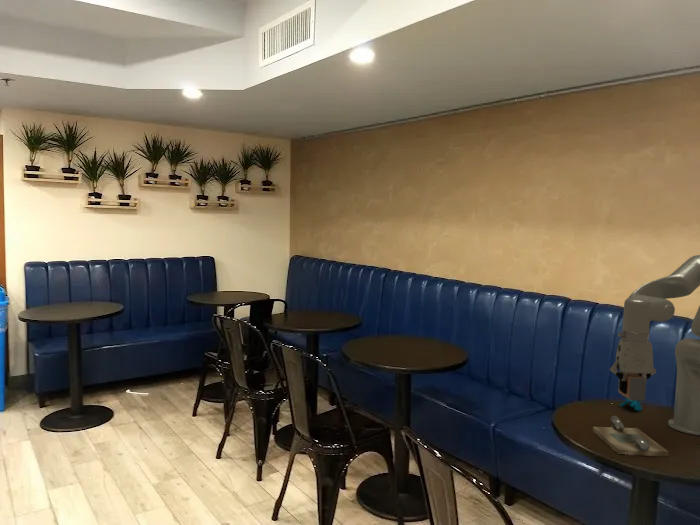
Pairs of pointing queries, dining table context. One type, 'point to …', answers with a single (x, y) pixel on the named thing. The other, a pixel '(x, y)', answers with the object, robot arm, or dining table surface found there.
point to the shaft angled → (617, 423)
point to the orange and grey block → (635, 387)
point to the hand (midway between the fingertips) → (631, 392)
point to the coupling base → (628, 441)
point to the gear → (632, 404)
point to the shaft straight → (641, 443)
